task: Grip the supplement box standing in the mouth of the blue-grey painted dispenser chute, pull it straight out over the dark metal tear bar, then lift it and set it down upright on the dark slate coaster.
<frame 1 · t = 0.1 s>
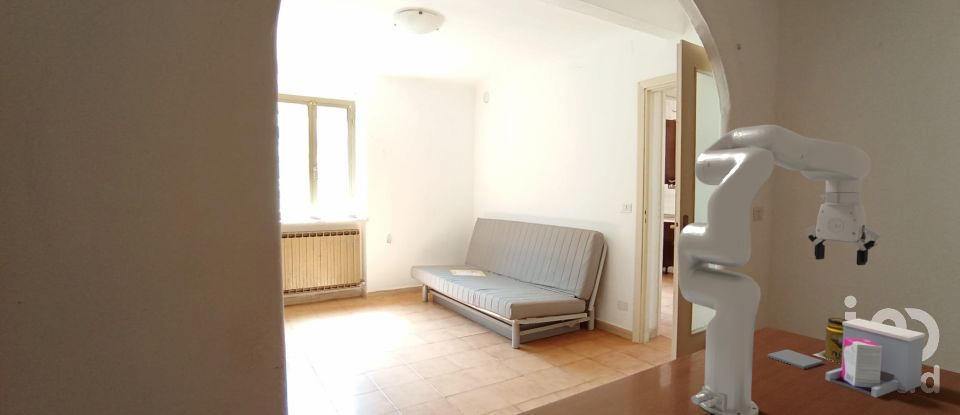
hand: (839, 261, 122), 31 cm above the table, fingers open, 9 cm apart
dispenser: (879, 377, 120), on the table
tear bar: (850, 388, 114), on the table
coaster: (794, 360, 132), on the table
supplement box: (859, 385, 116), on the table
condiment: (834, 358, 134), on the table
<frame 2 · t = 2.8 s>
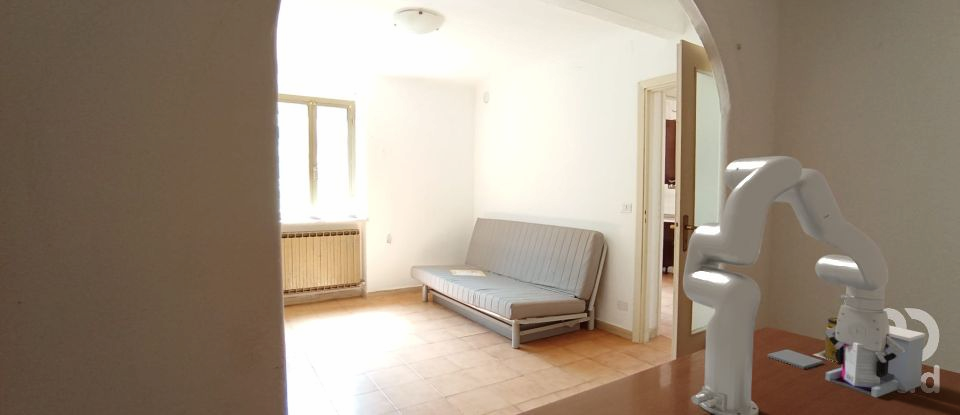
hand: (860, 369, 116), 4 cm above the table, fingers closed on supplement box, 7 cm apart
supplement box: (859, 385, 116), on the table, touching gripper
everything else where it was.
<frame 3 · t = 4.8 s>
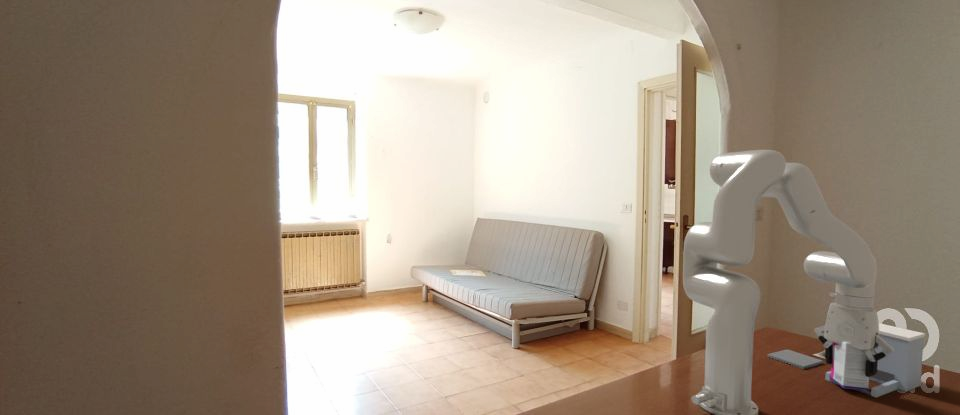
hand: (849, 368, 114), 5 cm above the table, fingers closed on supplement box, 7 cm apart
supplement box: (848, 385, 114), point 1 cm above the table, touching gripper
everything else where it was.
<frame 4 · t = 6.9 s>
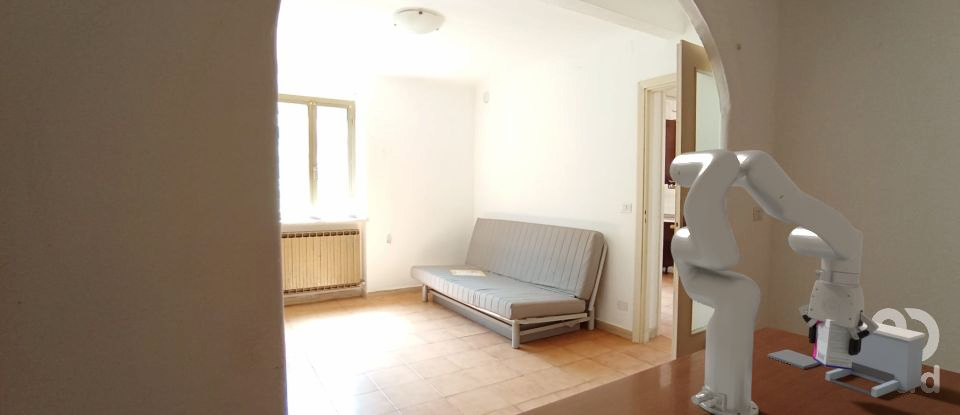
hand: (833, 348, 110), 12 cm above the table, fingers closed on supplement box, 7 cm apart
supplement box: (831, 365, 110), point 7 cm above the table, touching gripper
everything else where it was.
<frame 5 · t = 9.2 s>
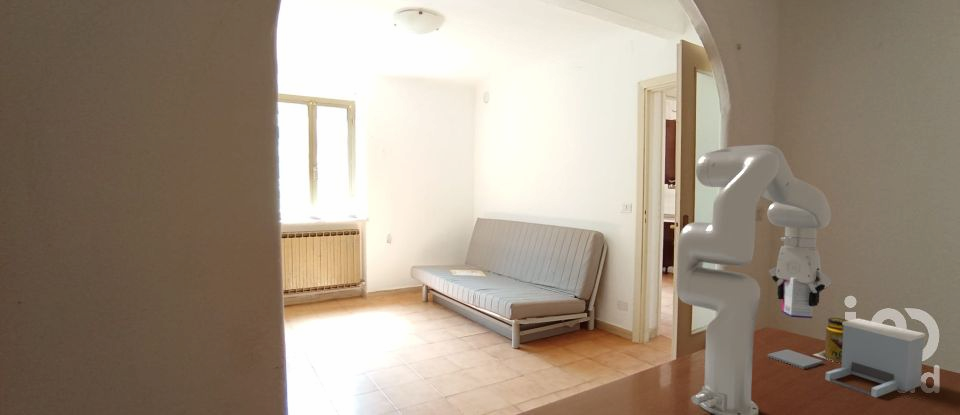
hand: (797, 301, 131), 18 cm above the table, fingers closed on supplement box, 7 cm apart
supplement box: (796, 315, 132), point 13 cm above the table, touching gripper
everything else where it was.
when the fingers open (6 cm above the table, at t = 11.3 s): supplement box drops 1 cm, resting on coaster.
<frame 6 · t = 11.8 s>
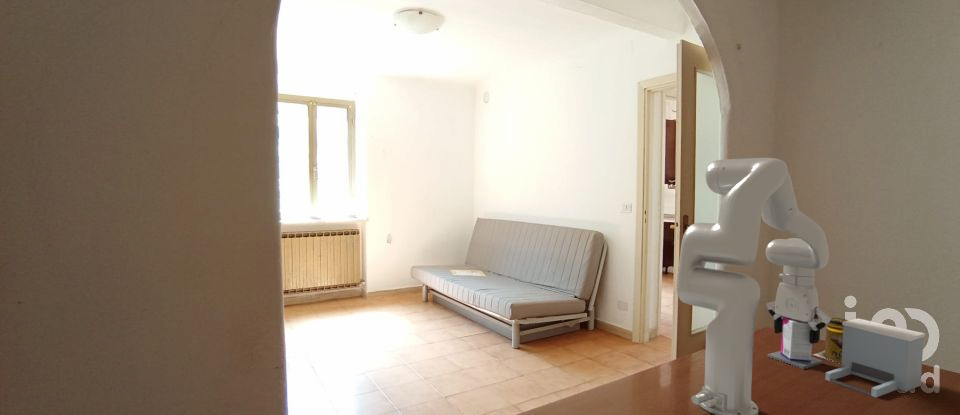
hand: (795, 337, 132), 7 cm above the table, fingers open, 9 cm apart
supplement box: (795, 358, 132), point 1 cm above the table, touching coaster
everything else where it was.
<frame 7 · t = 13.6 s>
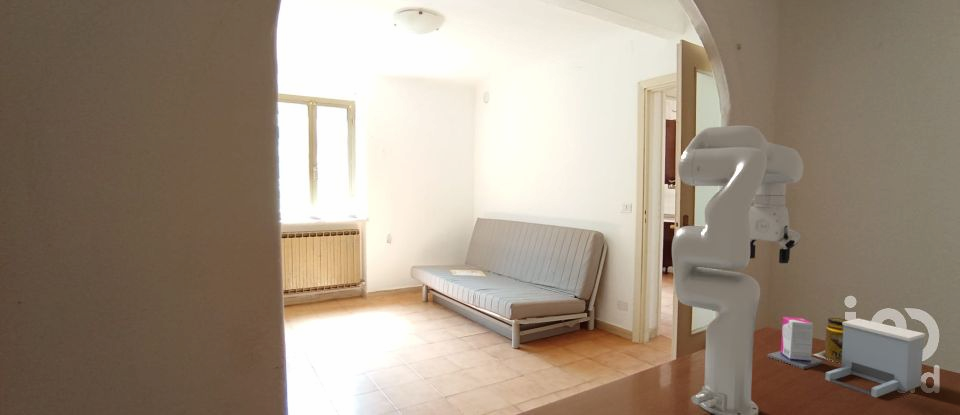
hand: (766, 260, 130), 30 cm above the table, fingers open, 9 cm apart
nothing on the table moved.
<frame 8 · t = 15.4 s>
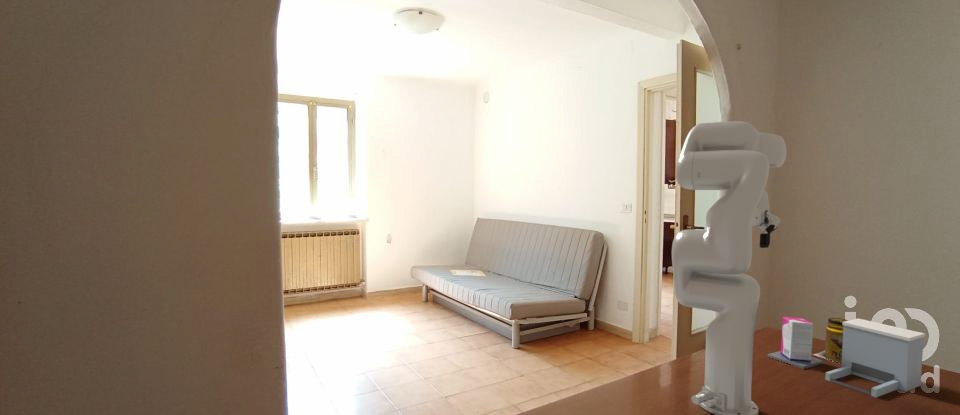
hand: (747, 245, 129), 34 cm above the table, fingers open, 9 cm apart
nothing on the table moved.
at the end: supplement box inside the target area on the coaster (0.3 cm from its centre), point 0.6 cm above the coaster's base; supplement box tilted 0°; the gripper is holding nothing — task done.
